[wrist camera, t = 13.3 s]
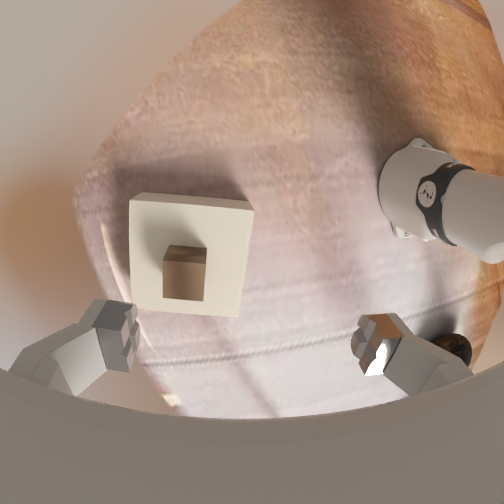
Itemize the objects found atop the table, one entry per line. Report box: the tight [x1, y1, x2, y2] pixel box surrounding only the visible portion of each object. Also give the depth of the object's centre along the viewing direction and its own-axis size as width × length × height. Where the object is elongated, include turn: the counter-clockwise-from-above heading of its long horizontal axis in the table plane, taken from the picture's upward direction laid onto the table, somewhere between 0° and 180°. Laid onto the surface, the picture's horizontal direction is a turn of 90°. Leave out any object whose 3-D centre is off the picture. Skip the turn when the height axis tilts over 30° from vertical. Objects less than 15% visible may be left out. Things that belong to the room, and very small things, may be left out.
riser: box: [129, 192, 254, 317], centre depth 39 cm, size 16×16×6 cm
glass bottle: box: [432, 334, 472, 367], centre depth 48 cm, size 18×18×28 cm
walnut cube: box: [163, 245, 207, 301], centre depth 34 cm, size 5×5×5 cm
